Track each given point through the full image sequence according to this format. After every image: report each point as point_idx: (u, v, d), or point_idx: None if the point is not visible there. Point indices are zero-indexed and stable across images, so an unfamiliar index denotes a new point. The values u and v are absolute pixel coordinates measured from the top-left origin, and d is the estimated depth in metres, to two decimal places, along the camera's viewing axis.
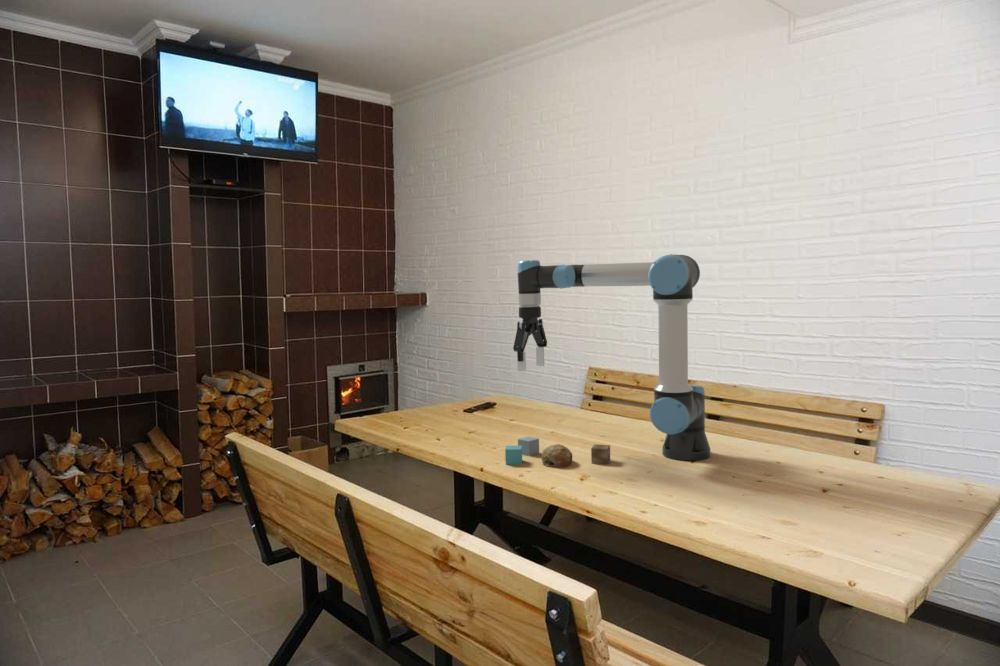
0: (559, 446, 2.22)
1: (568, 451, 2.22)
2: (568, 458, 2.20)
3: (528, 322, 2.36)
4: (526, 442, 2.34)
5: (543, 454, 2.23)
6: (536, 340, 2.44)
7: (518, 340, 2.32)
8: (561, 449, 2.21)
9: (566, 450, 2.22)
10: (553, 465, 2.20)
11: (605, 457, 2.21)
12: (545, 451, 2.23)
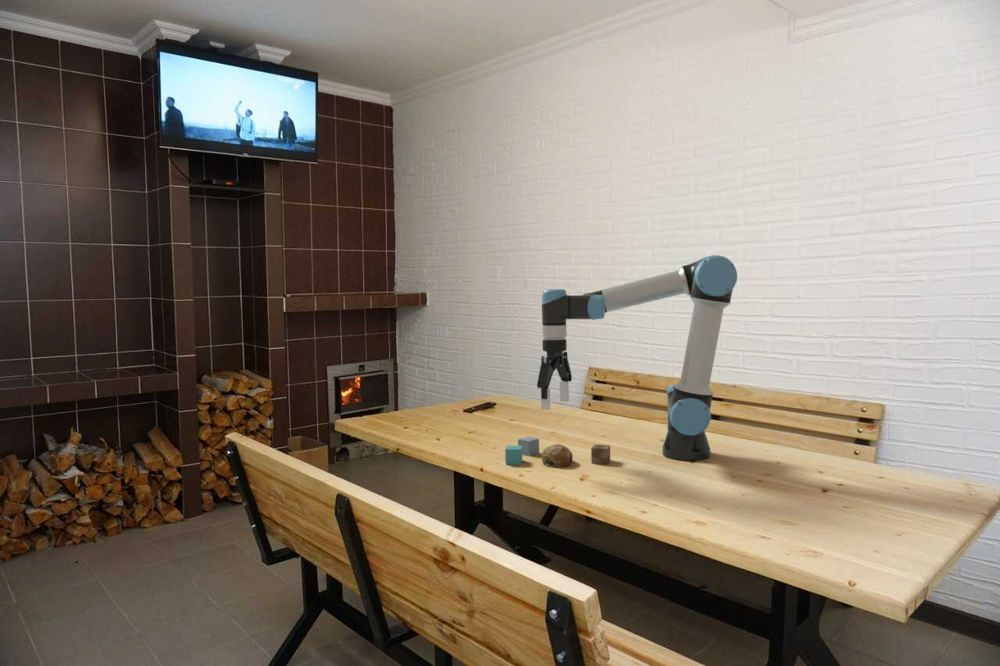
0: (559, 446, 2.23)
1: (568, 451, 2.22)
2: (568, 458, 2.20)
3: (553, 356, 2.18)
4: (526, 442, 2.34)
5: (543, 454, 2.23)
6: (560, 374, 2.27)
7: (542, 376, 2.14)
8: (561, 449, 2.21)
9: (566, 450, 2.22)
10: (553, 465, 2.20)
11: (605, 457, 2.21)
12: (545, 451, 2.23)
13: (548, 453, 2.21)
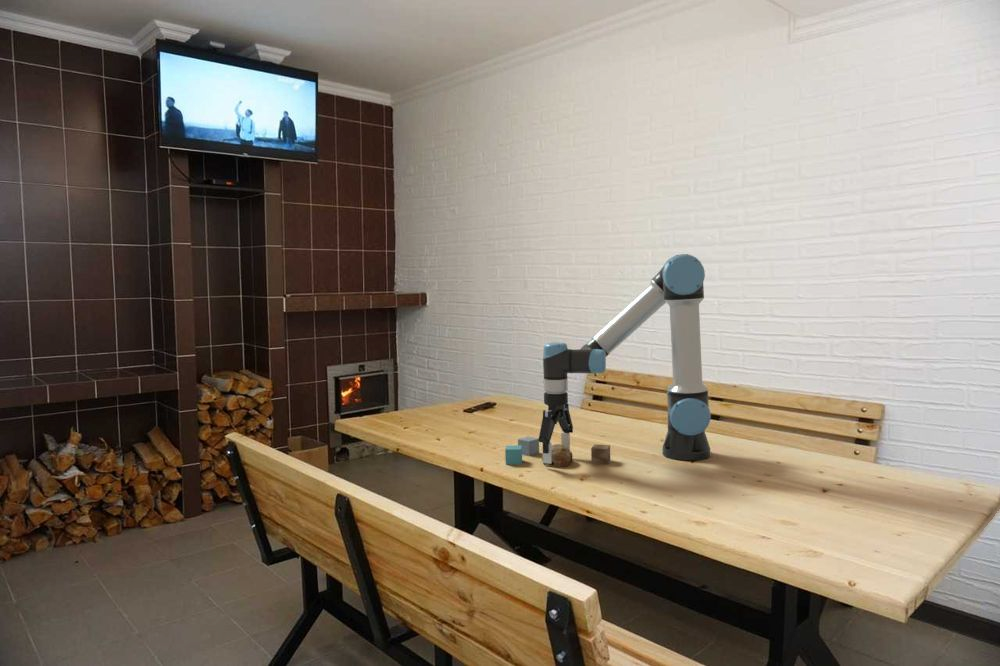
0: (559, 446, 2.23)
1: (568, 451, 2.23)
2: (568, 458, 2.20)
3: (554, 410, 2.19)
4: (526, 442, 2.34)
5: None
6: (562, 426, 2.28)
7: (544, 431, 2.15)
8: (561, 449, 2.21)
9: (567, 450, 2.22)
10: (553, 465, 2.20)
11: (605, 457, 2.21)
12: None
13: None
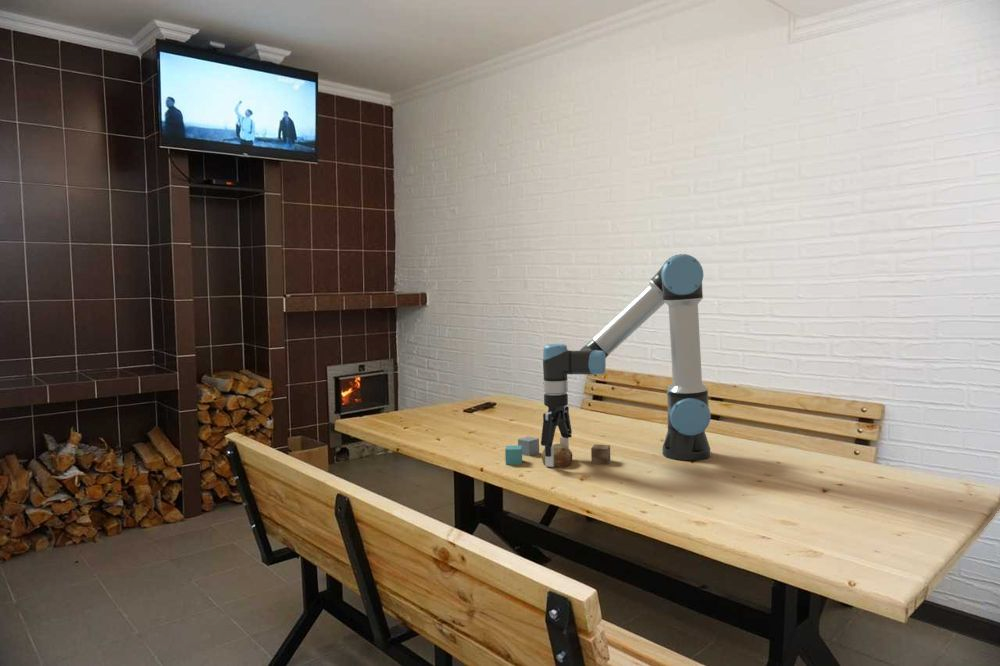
0: (559, 445, 2.22)
1: (568, 450, 2.22)
2: (568, 457, 2.20)
3: (554, 412, 2.19)
4: (526, 442, 2.34)
5: (543, 454, 2.23)
6: (561, 430, 2.28)
7: (545, 434, 2.16)
8: (561, 448, 2.21)
9: (567, 449, 2.22)
10: None
11: (605, 457, 2.21)
12: None
13: None
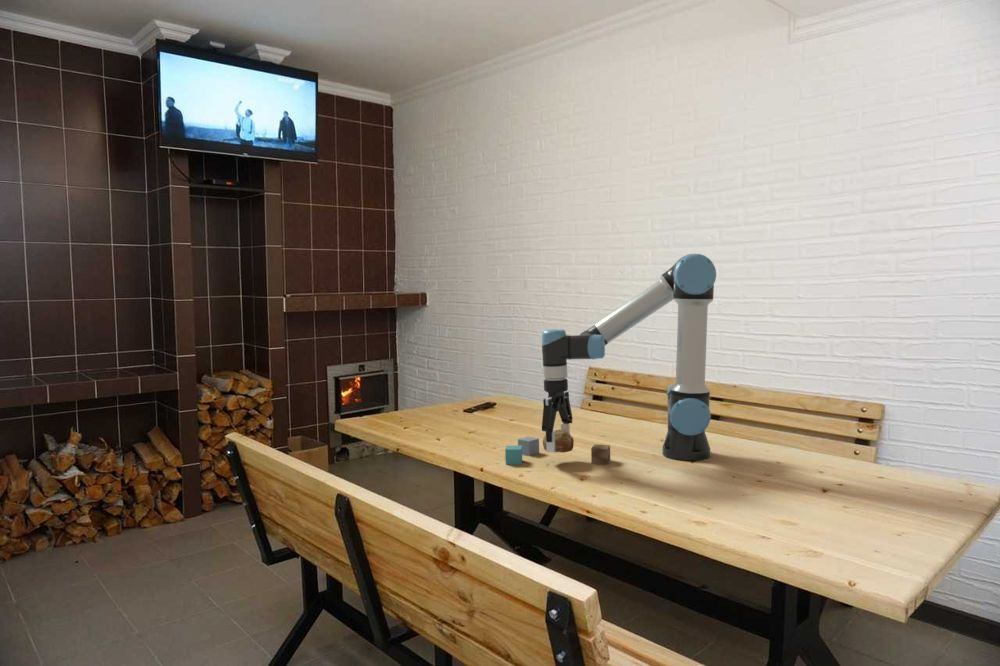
0: (560, 431, 2.22)
1: (569, 436, 2.22)
2: (570, 443, 2.20)
3: (554, 397, 2.19)
4: (526, 442, 2.34)
5: (544, 440, 2.22)
6: (561, 415, 2.27)
7: (546, 420, 2.16)
8: (562, 434, 2.20)
9: (568, 435, 2.21)
10: (555, 450, 2.19)
11: (605, 457, 2.21)
12: None
13: None
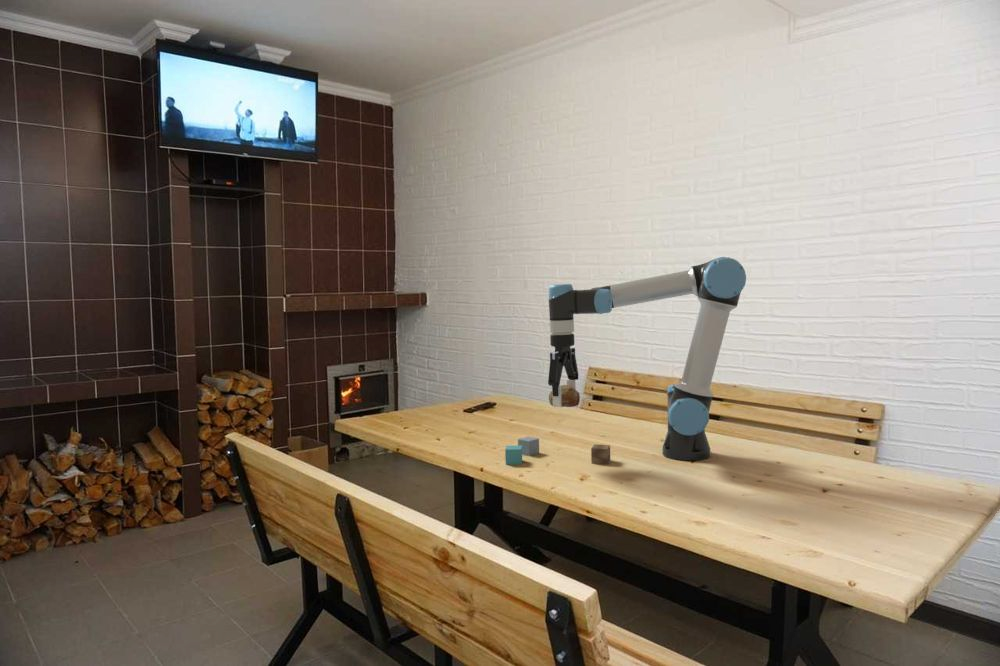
0: (566, 386, 2.21)
1: (575, 391, 2.21)
2: (576, 397, 2.19)
3: (561, 351, 2.18)
4: (526, 442, 2.34)
5: (550, 395, 2.21)
6: (567, 371, 2.26)
7: (552, 374, 2.15)
8: (569, 389, 2.20)
9: (574, 390, 2.21)
10: None
11: (605, 457, 2.21)
12: None
13: None
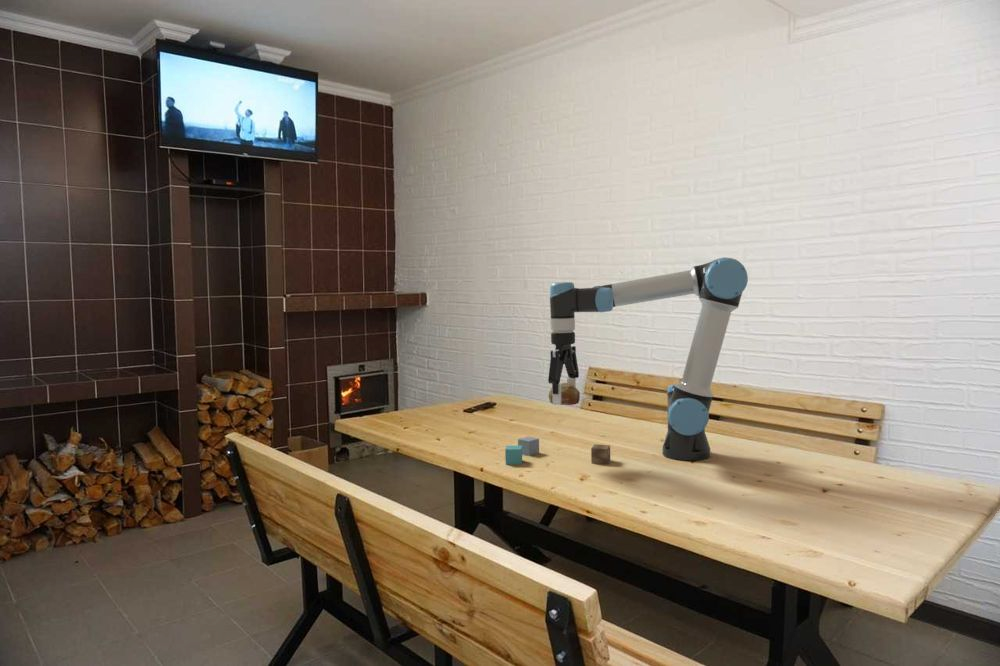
0: (566, 384, 2.21)
1: (575, 389, 2.21)
2: (576, 395, 2.19)
3: (561, 349, 2.18)
4: (526, 442, 2.34)
5: (550, 392, 2.22)
6: (568, 370, 2.27)
7: (553, 371, 2.15)
8: (569, 387, 2.20)
9: (574, 388, 2.21)
10: (561, 402, 2.19)
11: (605, 457, 2.21)
12: None
13: None
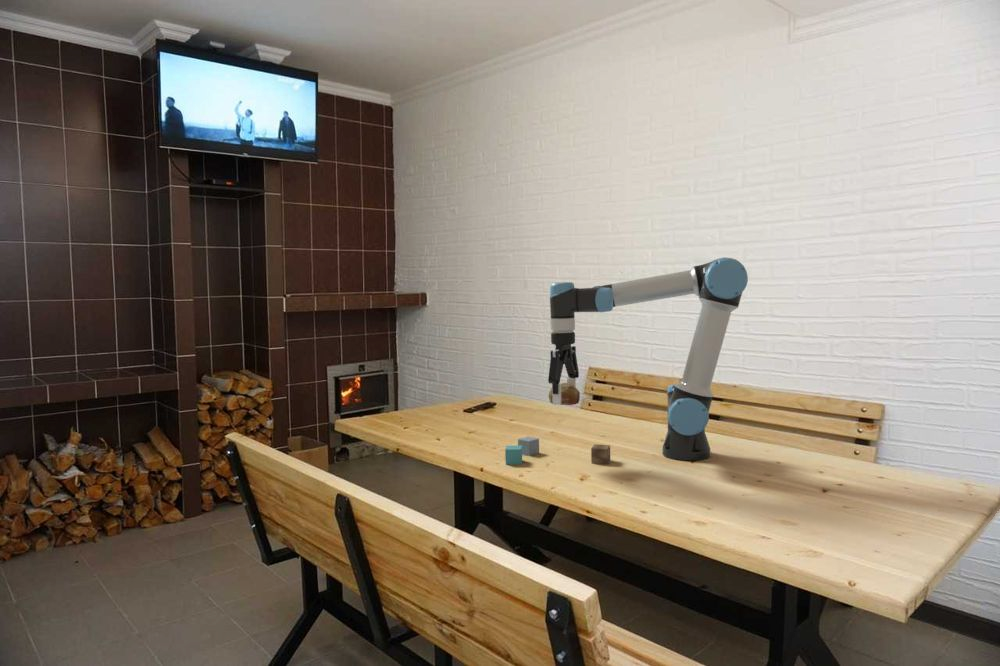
0: (566, 384, 2.21)
1: (575, 389, 2.21)
2: (576, 395, 2.19)
3: (561, 349, 2.18)
4: (526, 442, 2.34)
5: (550, 392, 2.22)
6: (568, 370, 2.27)
7: (553, 371, 2.15)
8: (569, 387, 2.20)
9: (574, 388, 2.21)
10: (561, 402, 2.19)
11: (605, 457, 2.21)
12: None
13: None
